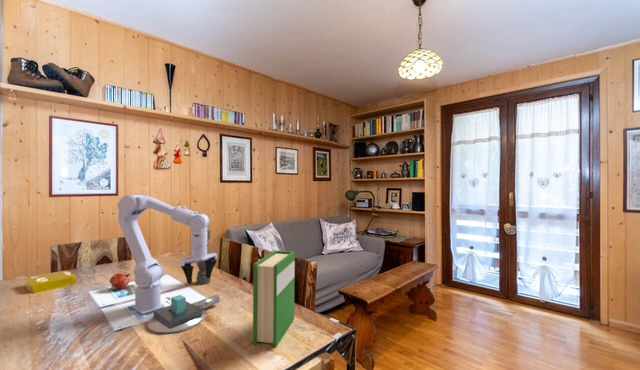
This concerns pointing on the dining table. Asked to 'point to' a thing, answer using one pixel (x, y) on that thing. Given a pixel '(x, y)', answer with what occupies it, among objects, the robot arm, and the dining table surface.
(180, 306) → the teal rectangular prism
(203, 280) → the candle holder
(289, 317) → the hardback book
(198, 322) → the rosette bracket
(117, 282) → the pomegranate
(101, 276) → the dining table surface
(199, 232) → the robot arm
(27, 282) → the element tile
